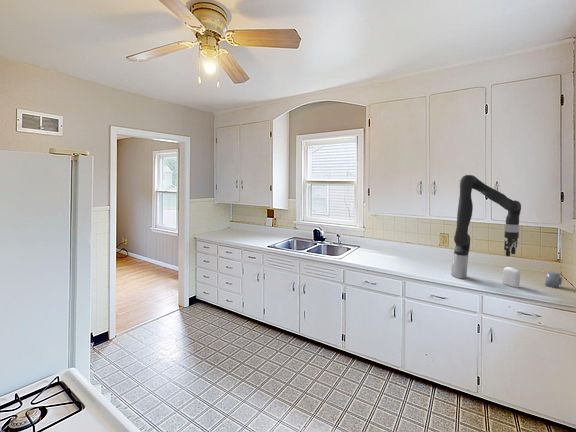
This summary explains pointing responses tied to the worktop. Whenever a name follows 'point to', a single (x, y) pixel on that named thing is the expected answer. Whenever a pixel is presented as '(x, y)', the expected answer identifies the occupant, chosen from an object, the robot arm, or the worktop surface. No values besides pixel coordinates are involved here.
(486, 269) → the worktop surface
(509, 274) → the photo printer
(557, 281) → the grey rounded cylinder
